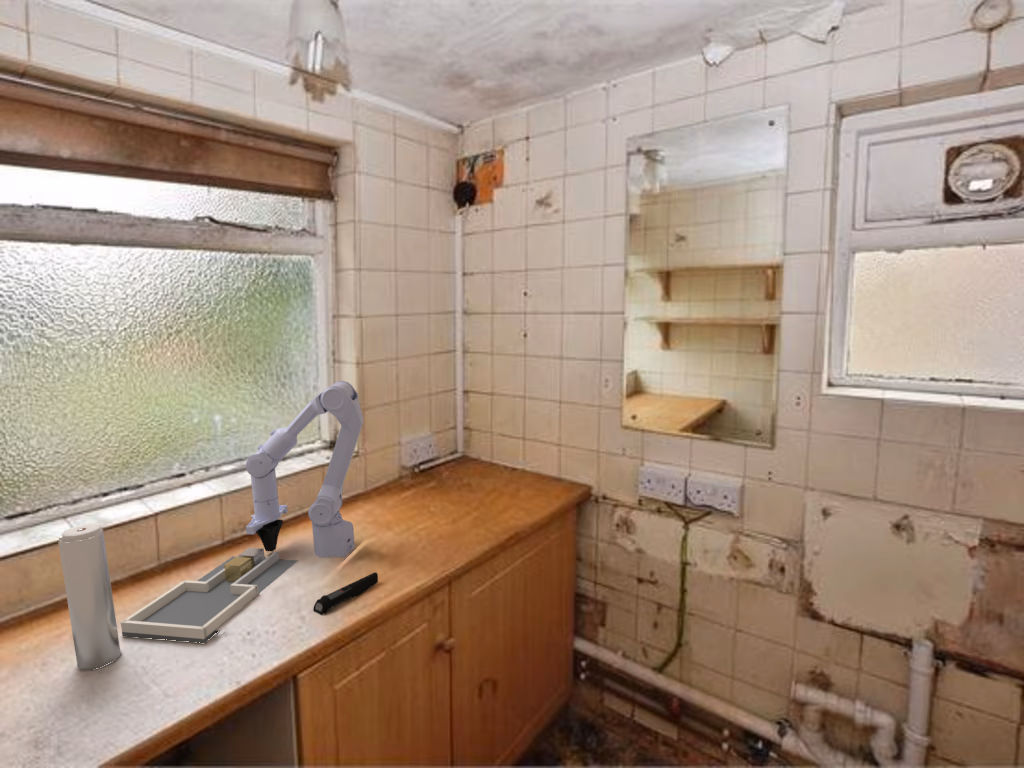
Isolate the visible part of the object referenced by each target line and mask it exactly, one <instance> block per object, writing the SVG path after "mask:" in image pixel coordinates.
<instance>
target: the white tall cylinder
mask: <svg viewBox="0 0 1024 768" xmlns="http://www.w3.org/2000/svg"><path fill="white" fill-rule="evenodd" d="M58 539H59V540H58V541H57V542H58V543H57V544H58V548H59V549H58V550H59V556H60V562H61V569H62V575H63V580H64V582H63V583H64V588H65V594H66V600H67V606H68V608H67V609H68V614H69V620H70V626H71V632H72V638H73V639H72V640H73V646H74V652H75V653H74V654H75V657H76V664H77V669H78V668H79V669H80V671H82V670H91V671H94V670H93V669H96V668H100V667H102V666H104V665H106V664H108V663H110V662H112V661H114V660H115V659H117V658H118V657H119V658H120V656H121V655H120V654H121V653H122V651H121V650H122V649H121V645H120V639H119V632H118V625H117V624H118V623H117V617H116V611H115V604H114V598H113V597H114V596H113V589H112V584H111V583H112V582H111V575H110V568H109V563H108V554H107V547H106V542H105V534H104V529H103V528H102V525H101V524H100V523H86V524H79V525H77V526H73V527H70V528H68V529H65V530H64V531H63V532H62V533H61V536H60V537H59V538H58ZM119 655H120V656H119ZM119 658H118V659H119ZM118 659H117V660H118ZM115 661H116V660H115ZM115 661H114V662H115ZM102 668H103V667H102ZM79 669H78V670H79ZM100 669H101V668H100ZM96 670H97V669H96Z"/></svg>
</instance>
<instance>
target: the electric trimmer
mask: <svg viewBox="0 0 1024 768" xmlns="http://www.w3.org/2000/svg"><path fill="white" fill-rule="evenodd" d="M378 576H379V573H378V572H377V571H375V572H373V573H370V574H368V575H366V576H364V577H362V578H360V579H357V580H355V581H354V582H351V583H348V584H347V585H345V586H343V587H341V588H339V589H337V590H335V591H332V592H330V593H328V594H327V595H326V594H324V595H322V596H321V597H320V598H319V599H317V600H316V601H315V603H314V604H313V607H312V608H313V612H314V613H316V614H318V615H320V616H322V615H327V613H328V612H329V610H331V609H333V608H334V607H337V606H338V605H340V604H342V603H344V602H345V601H348V600H350V599H351V598H357V597H359V596H360V595H362V594H363V593H365V592H366V591H368V590H369V589H371V588H372V587H373V586H375V585H376V584H378V582H379V577H378Z"/></svg>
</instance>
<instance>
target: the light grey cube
mask: <svg viewBox="0 0 1024 768" xmlns="http://www.w3.org/2000/svg"><path fill="white" fill-rule="evenodd" d="M237 555H238V556H237V557H243V558H251V563H252V569H253V568H254V567H255V566H257V565H258V564H259V563H261V562H262V561H263V560H265V558H266V556H265V548H262V547H261V548H260V547H259V548H257V547H248V548H247V549H245V550H244V551H241V553H239V554H237Z"/></svg>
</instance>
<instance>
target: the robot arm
mask: <svg viewBox="0 0 1024 768" xmlns="http://www.w3.org/2000/svg"><path fill="white" fill-rule="evenodd" d="M328 412H329V413H330V414H331V415H332V416H333V417H335V418H336V420H337V421H338V423H339V424H340V430H339V433H338V436H337V439H336V442H335V444H334V448H333V451H332V453H331V454H332V455H331V457H330V461H329V464H328V467H327V470H326V473H325V476H324V480H323V482H322V485H321V487H320V490H318V491H319V492H318V494H317V496H316V499H315V501H314V502H313V503H312V504H311V505H310V506H309V508H308V511H307V512H308V518H309V521H311V527H312V537H313V538H312V540H313V541H312V542H313V550H314V555H315V556H316V557H320V558H329V557H330V558H331V557H333V558H343V560H342V562H344V561H345V560H346V559H347V558H348V557H349V556H350V555H351V554H352V553H353V552H354V551H355V550H356V549H357V547H356V545H355V532H354V526H353V525H354V524H353V523H352V521H349V520H345V519H343V517H342V514H341V512H340V509H341V508H342V506H343V497H342V496H343V495H342V494H343V490H344V483H345V481H346V477H347V474H348V472H349V468H350V465H351V462H352V458H353V456H354V452H355V449H356V446H357V443H358V441H359V437H360V434H361V430H362V428H363V425H364V416H363V415H364V414H363V412H362V408H361V404H360V399H359V393H358V392H357V391H356V389H355V388H354V387H353V385H352V384H351V383H350V382H348V381H345V380H338V381H336V382H334V383H333V384H332V385H329V386H327V387H326V388H324V389H323V391H322V392H320V393H319V394H317V395H316V396H314V398H312V399H311V400H310V401H309V402H308V403H307V404H306V405H305V406H304V408H303V409H302V410H300V412H299V413H298V414H297V415H296V416H295V418H294V419H293V420H292V421H291V422H290V423H289V425H288V426H287V427H279V428H277V429H273V430H272V431H271V432H270V433H269V436H270V437H269V438H267V440H266V441H265V442H264V443H263V444H259V445H258V447H257V450H258V451H257V452H255V453H253V454H251V455H249V456H248V459H247V460H246V462H245V469H246V471H247V473H248V474H249V476H250V480H251V482H250V483H251V491H252V493H251V494H252V502H253V511H254V514H252V515H251V516H250V517H251V521H250V522H249V523H248V524H247V525H246V526H245V533H246V535H255V534H257V535H258V537H259V538H260V539H259V540H260V541H261V543H262V545H263V549H264V551H265V552H272V553H274V552H275V551H276V549H277V544H278V540H279V539H278V538H279V534H280V531H281V528H282V526H283V524H284V520H283V519H280V518H281V516H282V515H283V514H287V513H288V512H289V511H288V509H289V508H288V505H287V504H279V494H278V493H279V492H278V483H277V482H278V481H277V475H276V468H277V466H278V465H279V463H280V462H281V461H283V459H284V458H285V457H286V455H288V453H290V452H291V451H292V449H294V447H296V445H297V444H298V435H299V434H300V433H301V432H302V431H303V430H305V428H306V427H307V426H308V425H309V424H310V423H311V422H312V421H313V420H314V419H315V418H316V417H317V416H320V415H324V414H326V413H328Z"/></svg>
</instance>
